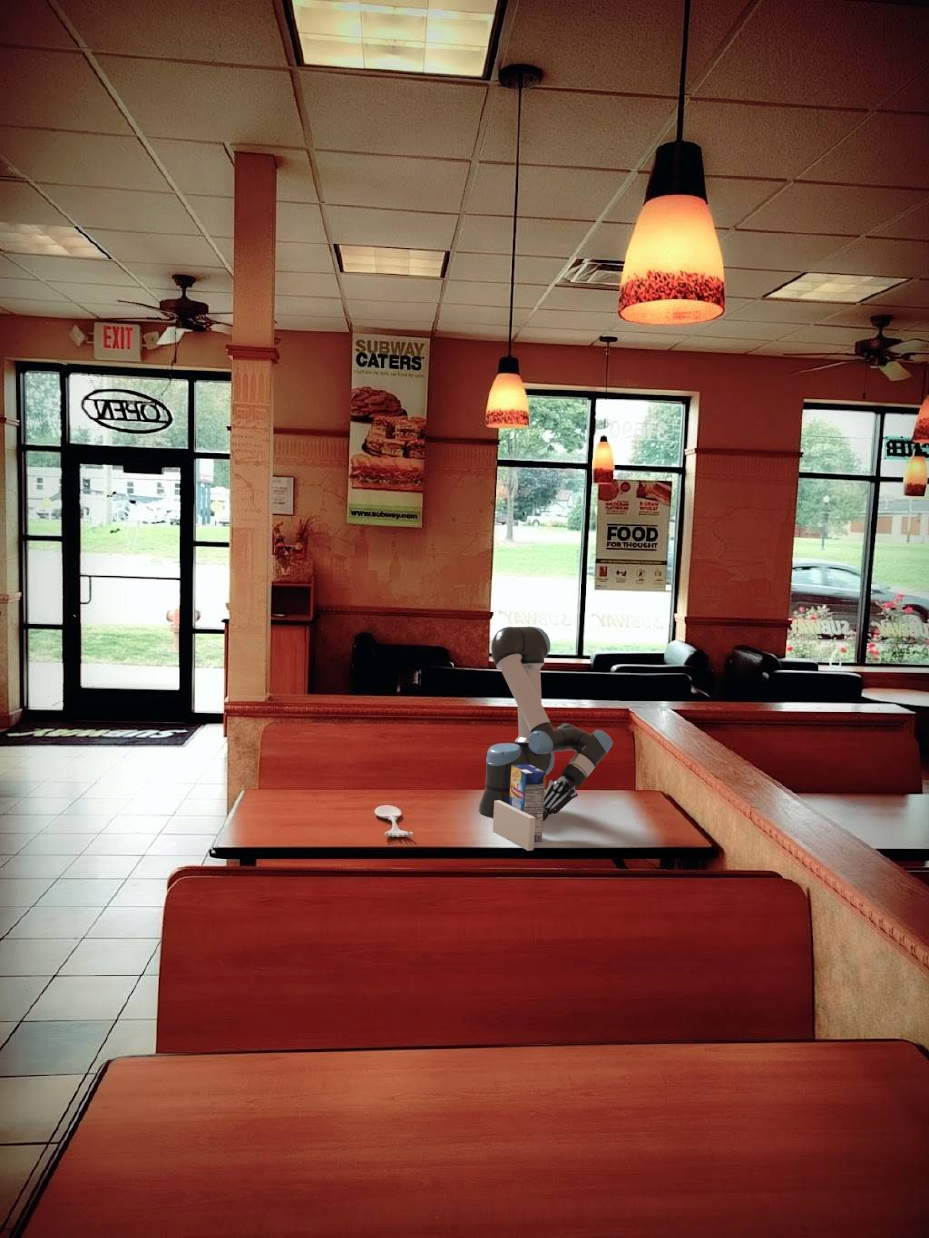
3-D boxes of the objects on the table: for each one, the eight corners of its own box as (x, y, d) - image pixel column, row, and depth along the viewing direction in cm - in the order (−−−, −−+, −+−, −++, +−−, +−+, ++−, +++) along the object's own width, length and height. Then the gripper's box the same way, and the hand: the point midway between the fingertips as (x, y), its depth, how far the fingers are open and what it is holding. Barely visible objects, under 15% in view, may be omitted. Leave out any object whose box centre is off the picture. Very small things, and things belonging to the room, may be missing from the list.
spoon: (384, 843, 253) (384, 832, 252) (372, 812, 284) (373, 802, 284) (413, 843, 255) (414, 831, 254) (399, 812, 286) (399, 802, 286)
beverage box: (521, 843, 259) (525, 773, 258) (507, 832, 269) (511, 765, 268) (541, 841, 261) (545, 772, 260) (526, 831, 271) (530, 764, 270)
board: (492, 831, 269) (494, 800, 269) (497, 830, 270) (499, 800, 270) (527, 850, 252) (529, 818, 252) (533, 849, 253) (535, 817, 253)
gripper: (596, 782, 268) (551, 840, 261) (571, 773, 279) (527, 827, 272) (584, 767, 265) (538, 825, 258) (559, 758, 276) (514, 813, 269)
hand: (532, 826), depth 265 cm, fingers closed
